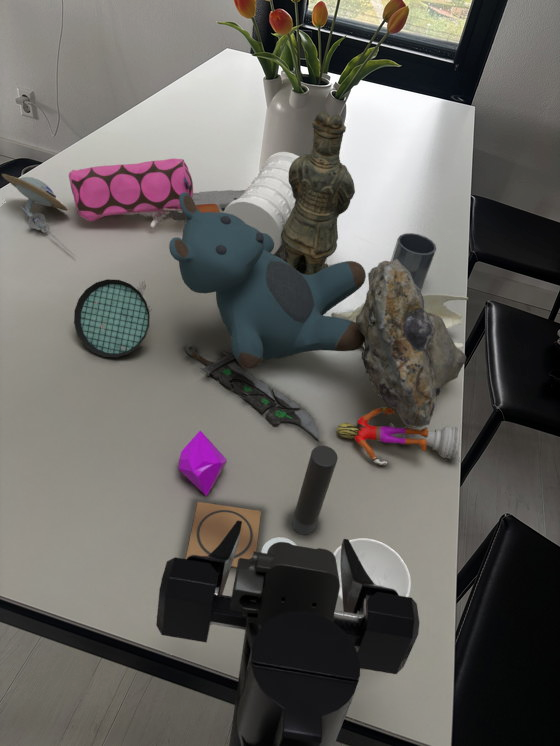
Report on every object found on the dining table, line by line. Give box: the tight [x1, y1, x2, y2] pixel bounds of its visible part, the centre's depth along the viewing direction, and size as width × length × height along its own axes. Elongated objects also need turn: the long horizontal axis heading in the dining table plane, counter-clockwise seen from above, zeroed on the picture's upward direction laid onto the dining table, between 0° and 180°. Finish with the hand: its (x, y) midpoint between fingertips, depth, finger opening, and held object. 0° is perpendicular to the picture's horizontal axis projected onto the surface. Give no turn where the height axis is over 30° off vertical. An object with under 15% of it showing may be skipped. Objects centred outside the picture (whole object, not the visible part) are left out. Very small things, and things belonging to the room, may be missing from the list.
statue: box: [281, 111, 356, 275], centre depth 100 cm, size 11×9×30 cm
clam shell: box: [330, 293, 469, 349], centre depth 101 cm, size 22×12×12 cm, turn 106°
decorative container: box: [223, 151, 300, 255], centre depth 113 cm, size 12×12×18 cm
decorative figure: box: [123, 210, 171, 229], centre depth 117 cm, size 4×12×18 cm
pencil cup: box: [390, 232, 437, 292], centre depth 110 cm, size 7×7×9 cm
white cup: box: [333, 537, 412, 611], centre depth 62 cm, size 8×8×10 cm
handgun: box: [170, 189, 246, 222], centre depth 120 cm, size 4×26×15 cm
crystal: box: [177, 429, 228, 497], centre depth 75 cm, size 5×5×5 cm
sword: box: [185, 344, 320, 441], centre depth 88 cm, size 1×25×7 cm
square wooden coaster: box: [185, 501, 262, 569], centre depth 70 cm, size 8×8×1 cm
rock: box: [356, 259, 467, 428], centre depth 82 cm, size 25×21×15 cm
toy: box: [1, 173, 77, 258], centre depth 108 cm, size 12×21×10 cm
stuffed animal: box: [168, 192, 367, 370], centre depth 83 cm, size 23×18×28 cm
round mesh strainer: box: [73, 278, 152, 358], centre depth 91 cm, size 11×12×6 cm
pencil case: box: [68, 158, 194, 222], centre depth 111 cm, size 21×10×10 cm
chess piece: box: [388, 422, 460, 460], centre depth 84 cm, size 4×4×10 cm
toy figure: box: [336, 406, 429, 466], centre depth 82 cm, size 8×12×3 cm
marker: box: [291, 445, 338, 536], centre depth 68 cm, size 3×3×13 cm
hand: (292, 533), depth 53 cm, fingers open, 9 cm apart
